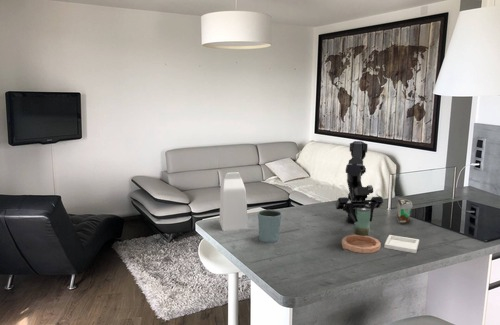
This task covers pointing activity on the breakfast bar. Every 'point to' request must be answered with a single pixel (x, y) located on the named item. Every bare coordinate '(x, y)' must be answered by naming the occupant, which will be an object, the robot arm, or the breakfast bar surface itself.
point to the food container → (403, 210)
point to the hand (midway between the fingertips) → (363, 221)
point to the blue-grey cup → (269, 225)
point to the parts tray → (402, 243)
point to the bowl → (361, 244)
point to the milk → (233, 203)
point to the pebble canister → (362, 220)
